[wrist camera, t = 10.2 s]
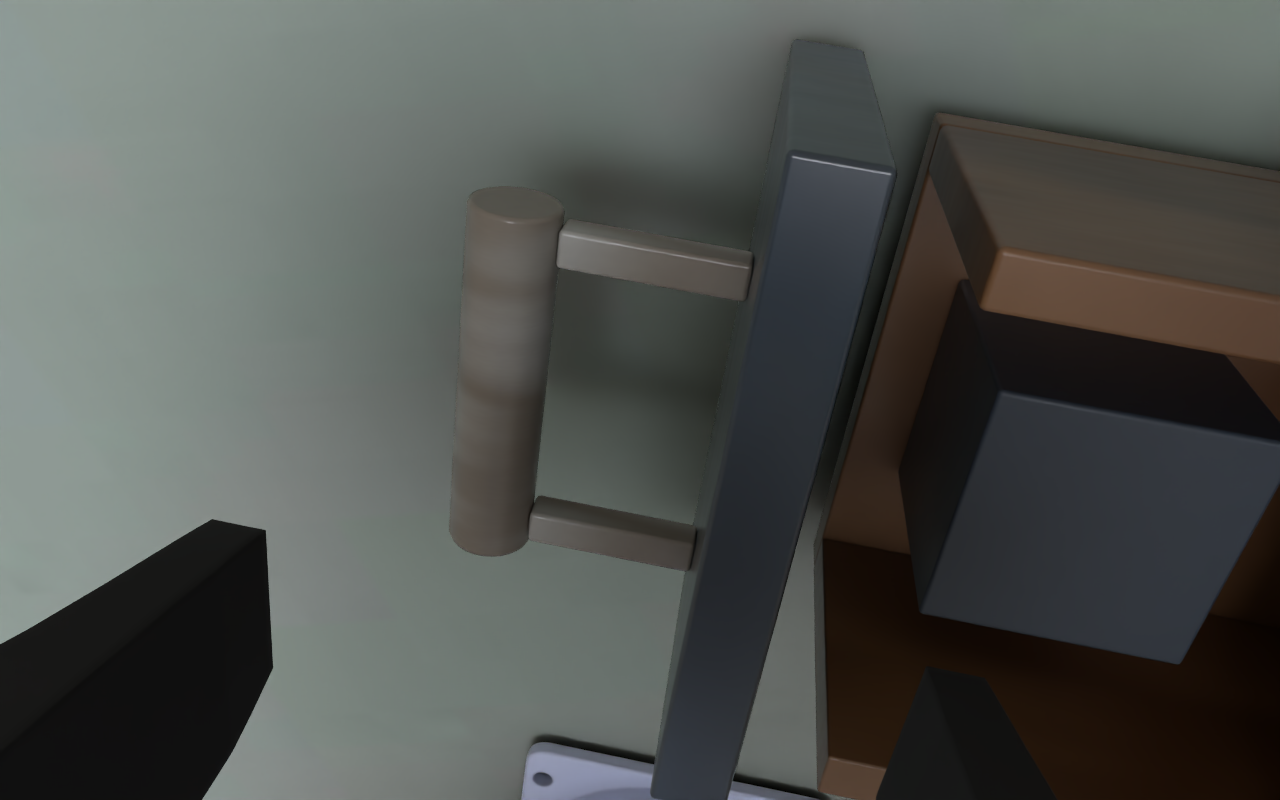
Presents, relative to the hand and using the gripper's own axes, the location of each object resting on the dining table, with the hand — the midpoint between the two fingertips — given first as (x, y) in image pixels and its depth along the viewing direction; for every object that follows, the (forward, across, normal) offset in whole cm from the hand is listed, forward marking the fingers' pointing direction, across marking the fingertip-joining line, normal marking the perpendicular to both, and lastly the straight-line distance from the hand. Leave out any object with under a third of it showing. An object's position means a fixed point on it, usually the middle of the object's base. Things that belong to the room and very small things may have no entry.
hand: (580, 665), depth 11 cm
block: (+8, -7, 0) cm, 11 cm away
